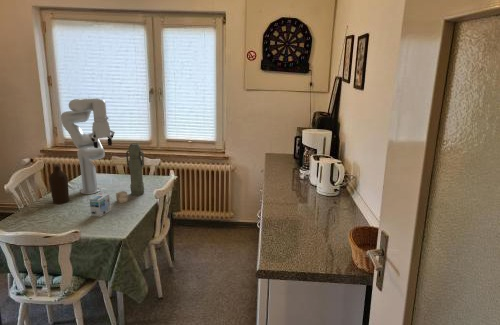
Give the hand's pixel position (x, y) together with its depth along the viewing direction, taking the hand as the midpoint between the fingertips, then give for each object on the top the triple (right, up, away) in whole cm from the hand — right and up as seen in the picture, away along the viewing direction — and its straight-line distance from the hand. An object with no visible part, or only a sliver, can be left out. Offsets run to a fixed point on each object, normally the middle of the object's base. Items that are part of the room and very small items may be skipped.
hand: (103, 146), depth 234 cm
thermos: (+15, -32, +22) cm, 42 cm away
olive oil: (-30, -36, +6) cm, 47 cm away
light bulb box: (+4, -41, -12) cm, 43 cm away
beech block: (+9, -35, +8) cm, 37 cm away
